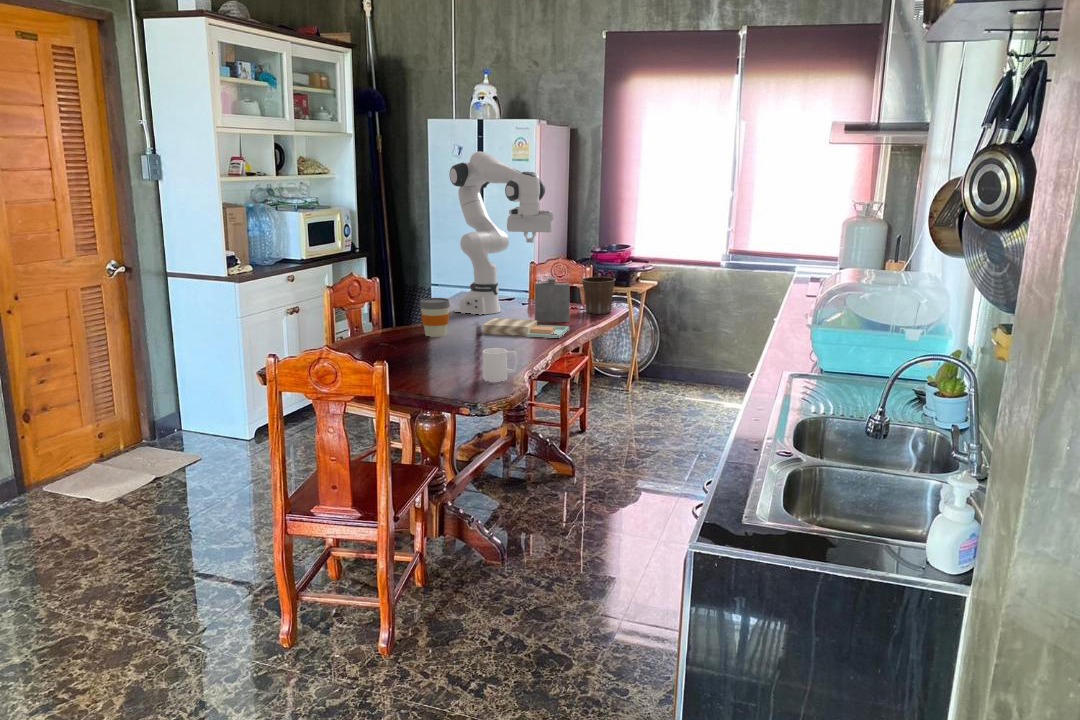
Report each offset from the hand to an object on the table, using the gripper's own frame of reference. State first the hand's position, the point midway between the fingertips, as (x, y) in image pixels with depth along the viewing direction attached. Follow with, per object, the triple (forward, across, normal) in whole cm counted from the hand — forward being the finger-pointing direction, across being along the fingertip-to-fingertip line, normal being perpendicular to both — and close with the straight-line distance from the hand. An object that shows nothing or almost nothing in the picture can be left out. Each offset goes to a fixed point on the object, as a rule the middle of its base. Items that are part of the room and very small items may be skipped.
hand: (530, 242), depth 357 cm
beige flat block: (+37, +5, +14) cm, 40 cm away
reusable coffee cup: (+37, +34, +28) cm, 58 cm away
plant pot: (+37, -23, -38) cm, 58 cm away
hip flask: (+37, -7, -11) cm, 40 cm away
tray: (+37, -12, +14) cm, 41 cm away
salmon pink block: (+37, -10, +14) cm, 40 cm away
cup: (+38, -14, +87) cm, 96 cm away
